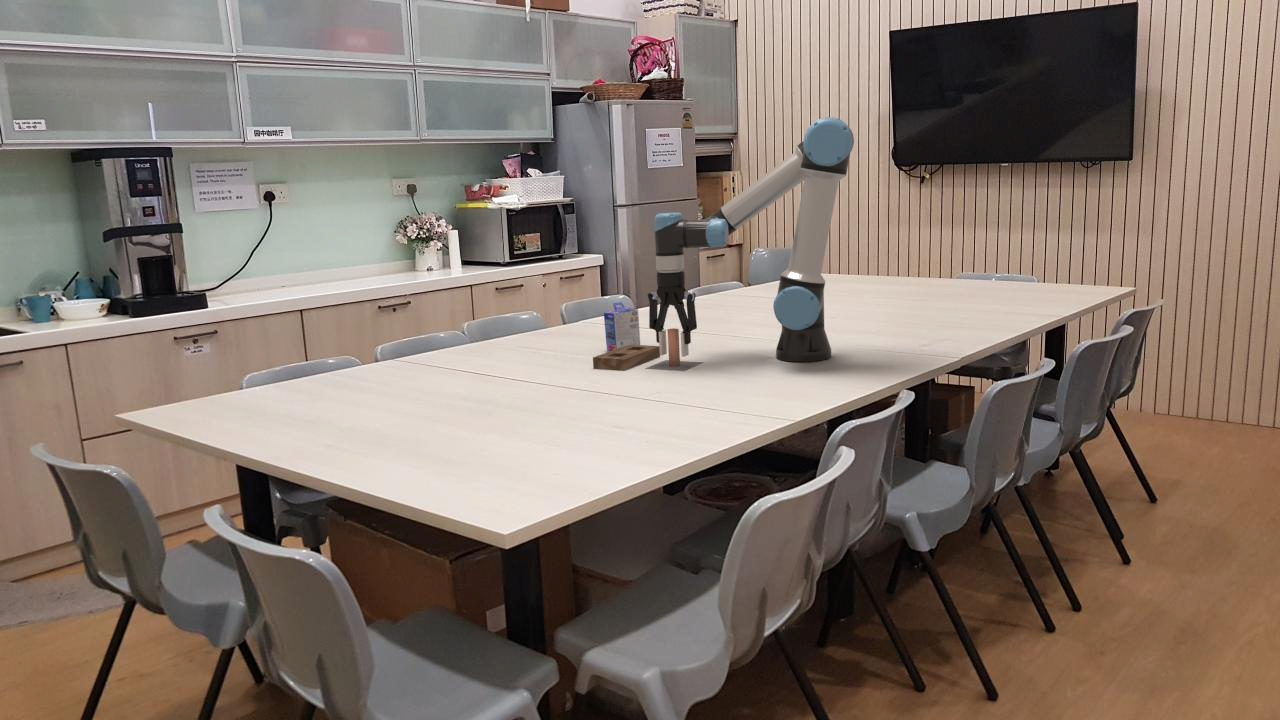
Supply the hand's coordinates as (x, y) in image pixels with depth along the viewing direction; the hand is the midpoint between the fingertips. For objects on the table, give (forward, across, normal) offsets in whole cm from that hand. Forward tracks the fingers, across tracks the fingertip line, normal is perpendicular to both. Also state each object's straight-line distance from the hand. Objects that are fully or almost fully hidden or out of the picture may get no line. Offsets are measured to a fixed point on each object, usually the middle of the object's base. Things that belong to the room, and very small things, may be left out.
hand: (674, 355), depth 272 cm
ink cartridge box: (+4, +27, -18) cm, 33 cm away
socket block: (+3, +15, 0) cm, 15 cm away
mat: (+3, 0, 0) cm, 3 cm away
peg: (+3, 0, 0) cm, 3 cm away
